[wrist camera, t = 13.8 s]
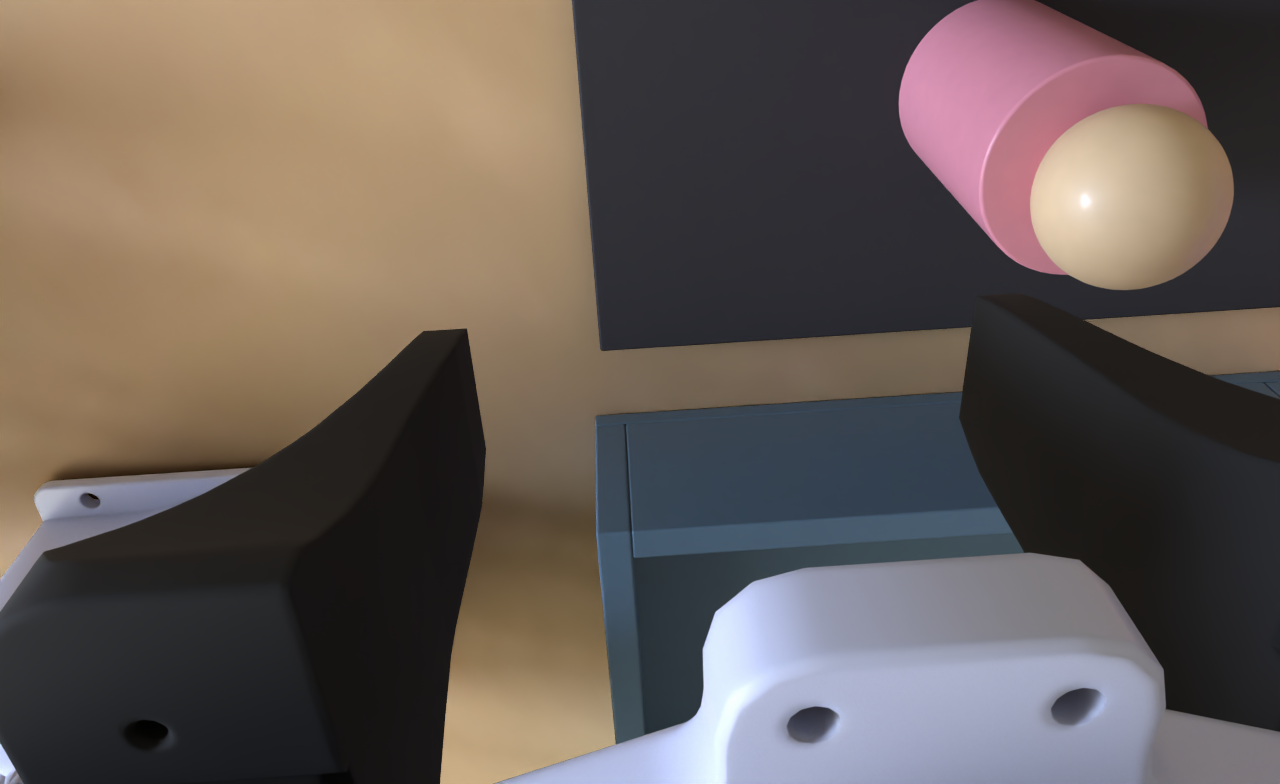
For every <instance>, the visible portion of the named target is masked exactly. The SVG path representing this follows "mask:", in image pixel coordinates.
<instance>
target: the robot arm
mask: <svg viewBox="0 0 1280 784" xmlns="http://www.w3.org/2000/svg"><path fill="white" fill-rule="evenodd" d="M959 419H960V422H961V425H962V428H963V431H964V434H965V436H966V439H967V442H968V445H969V448H970V450H971V453H972V456H973V458H974V461H975V463H976V466H977V468H978V471H979V473H980V475H981V477H982V479H983V481H984V482H985V484H986V486H987V488H988V490H989V492H990V493H991V495H992V497H993V499H994V500H995V502H996V504H997V506H998V508H999V509H1000V511H1001V513H1002V515H1003V516H1004V518H1005V520H1006V522H1007V523H1008V525H1009V527H1010V529H1011V530H1012V532H1013V534H1014V536H1015V537H1016V539H1017V541H1018V542H1019V544H1020V546H1021V548H1022V549H1023V551H1024V553H1019V554H1004V555H989V556H974V557H959V558H944V559H929V560H914V561H899V562H884V563H870V564H855V565H840V566H825V567H810V568H802V569H798V570H795V571H791V572H787V573H784V574H780V575H776V576H772V577H769V578H765V579H761V580H757V581H754V582H752V583H751V584H749V585H748V586H747V587H746V588H744V589H743V590H742V591H741V592H739V593H738V594H737V595H736V596H735V597H733V598H732V599H731V600H730V601H728V602H727V603H726V604H725V605H724V606H722V607H721V608H720V609H719V610H717V611H716V612H715V615H714V618H713V621H712V624H711V626H710V629H709V632H708V635H707V638H706V641H705V644H704V647H703V681H704V690H703V696H702V702H701V707H700V708H699V710H698V712H697V714H696V715H695V716H694V717H693V718H691V719H690V720H689V721H687V722H684V723H681V724H678V725H675V726H672V727H669V728H666V729H663V730H659V731H656V732H653V733H650V734H647V735H644V736H641V737H638V738H635V739H631V740H628V741H625V742H622V743H619V744H616V745H613V746H610V747H606V748H603V749H600V750H597V751H594V752H591V753H588V754H585V755H581V756H578V757H575V758H572V759H569V760H566V761H563V762H560V763H556V764H553V765H550V766H547V767H544V768H541V769H538V770H535V771H532V772H528V773H525V774H522V775H519V776H516V777H513V778H510V779H507V780H503V781H500V782H497V783H494V784H1280V399H1278V398H1275V397H1271V396H1268V395H1265V394H1262V393H1259V392H1256V391H1253V390H1250V389H1247V388H1244V387H1241V386H1237V385H1234V384H1231V383H1228V382H1225V381H1222V380H1220V379H1217V378H1214V377H1212V376H1209V375H1206V374H1203V373H1201V372H1198V371H1196V370H1193V369H1191V368H1189V367H1186V366H1184V365H1181V364H1179V363H1176V362H1174V361H1171V360H1169V359H1167V358H1164V357H1162V356H1159V355H1157V354H1155V353H1153V352H1150V351H1148V350H1146V349H1144V348H1141V347H1139V346H1137V345H1135V344H1133V343H1130V342H1128V341H1126V340H1124V339H1122V338H1120V337H1118V336H1115V335H1113V334H1111V333H1109V332H1107V331H1105V330H1103V329H1101V328H1099V327H1096V326H1094V325H1092V324H1090V323H1088V322H1086V321H1084V320H1082V319H1080V318H1078V317H1076V316H1074V315H1071V314H1069V313H1067V312H1065V311H1063V310H1061V309H1059V308H1056V307H1054V306H1052V305H1050V304H1048V303H1045V302H1043V301H1040V300H1038V299H1036V298H1033V297H1030V296H1027V295H1024V294H1021V293H1010V294H995V295H979V296H976V298H975V305H974V313H973V320H972V327H971V334H970V342H969V349H968V356H967V363H966V370H965V378H964V385H963V392H962V399H961V406H960V414H959ZM485 455H486V446H485V440H484V434H483V428H482V421H481V415H480V409H479V402H478V396H477V390H476V384H475V377H474V371H473V365H472V358H471V352H470V346H469V340H468V333H467V329H452V330H436V331H423V332H422V333H421V334H420V335H418V336H417V337H416V338H415V339H414V340H413V341H412V342H411V343H410V344H409V345H408V346H406V347H405V348H404V349H403V350H402V351H401V352H400V353H399V354H398V355H397V356H396V357H395V358H394V359H393V360H392V361H391V362H390V363H389V364H388V365H387V366H386V367H385V368H383V369H382V370H381V371H380V372H379V373H378V374H377V375H376V376H375V377H374V378H373V379H372V380H370V381H369V382H368V383H367V384H366V385H365V386H364V387H363V388H362V389H361V390H360V391H358V392H357V393H356V394H355V395H354V396H353V397H351V398H350V399H349V400H348V401H346V402H345V403H344V404H343V405H342V406H340V407H339V408H338V409H337V410H335V411H334V412H333V413H332V414H330V415H329V416H328V417H327V418H326V419H324V420H323V421H322V422H321V423H319V424H318V425H317V426H316V427H314V428H313V429H312V430H310V431H309V432H308V433H306V434H305V435H303V436H302V437H300V438H299V439H298V440H296V441H295V442H293V443H292V444H290V445H289V446H287V447H286V448H284V449H282V450H281V451H279V452H278V453H276V454H275V455H273V456H272V457H270V458H268V459H267V460H265V461H263V462H262V463H260V464H258V465H257V466H255V467H253V468H238V469H223V470H208V471H192V472H177V473H162V474H147V475H132V476H116V477H101V478H86V479H71V480H56V481H49V482H45V483H44V484H43V485H41V486H40V488H39V489H38V490H37V492H36V493H35V496H34V501H35V505H36V507H37V509H38V511H39V513H40V516H41V518H42V520H43V523H42V524H41V525H40V527H39V528H38V529H37V531H36V532H35V533H34V535H33V536H32V538H31V539H30V540H29V542H28V543H27V544H26V546H25V547H24V548H23V550H22V551H21V552H20V554H19V555H18V556H17V558H16V559H15V560H14V562H13V563H12V565H11V566H10V567H9V569H8V570H7V571H6V573H5V574H4V575H3V577H2V578H1V579H0V784H440V774H441V762H442V749H443V737H444V725H445V713H446V703H447V692H448V682H449V672H450V661H451V653H452V647H453V641H454V635H455V629H456V624H457V619H458V615H459V610H460V605H461V601H462V596H463V592H464V587H465V583H466V578H467V574H468V569H469V565H470V560H471V555H472V551H473V546H474V542H475V537H476V532H477V527H478V523H479V518H480V513H481V508H482V500H483V487H484V472H485ZM87 493H91V494H94V495H95V496H97V497H98V498H99V499H100V500H97V499H93V498H91V497H89V495H88V494H87Z"/></svg>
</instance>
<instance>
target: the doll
mask: <svg viewBox="0 0 1280 784" xmlns="http://www.w3.org/2000/svg"><path fill="white" fill-rule="evenodd" d="M899 116H900V121H901V126H902V129H903V132H904V135H905V137H906V139H907V141H908V143H909V145H910V146H911V147H912V149H913V150H914V152H915V153H916V154H917V155H918V156H919V158H920V159H921V160H922V161H923V162H924V163H925V164H926V166H927V167H928V168H929V169H930V170H931V171H932V172H933V174H934V175H935V176H936V177H937V178H938V179H939V180H940V182H941V183H942V184H943V185H944V186H945V187H946V188H947V189H948V191H949V192H950V193H951V194H952V195H953V196H954V197H955V199H956V200H957V201H958V202H959V203H960V204H961V205H962V207H963V208H964V209H965V210H966V211H967V212H968V213H969V215H970V216H971V217H972V218H973V219H974V220H975V221H976V222H977V224H978V225H979V226H980V227H981V228H982V229H983V230H984V232H985V233H986V234H987V235H988V236H989V237H990V238H991V240H992V241H993V242H994V243H995V244H996V245H997V246H998V247H999V248H1000V249H1001V250H1002V251H1003V252H1004V253H1005V254H1006V255H1007V256H1008V257H1010V258H1011V259H1013V260H1014V261H1015V262H1017V263H1019V264H1021V265H1023V266H1025V267H1027V268H1030V269H1033V270H1036V271H1039V272H1044V273H1049V274H1060V275H1070V276H1072V277H1074V278H1076V279H1078V280H1080V281H1082V282H1084V283H1086V284H1089V285H1092V286H1096V287H1100V288H1105V289H1111V290H1135V289H1142V288H1148V287H1151V286H1155V285H1158V284H1161V283H1164V282H1167V281H1169V280H1171V279H1174V278H1176V277H1177V276H1179V275H1181V274H1183V273H1184V272H1186V271H1187V270H1189V269H1190V268H1192V267H1193V266H1194V265H1196V264H1197V263H1198V262H1199V261H1200V260H1201V259H1202V258H1203V257H1205V256H1206V255H1207V254H1208V252H1209V251H1210V250H1211V249H1212V248H1213V246H1214V245H1215V244H1216V242H1217V241H1218V239H1219V238H1220V236H1221V234H1222V233H1223V231H1224V229H1225V227H1226V224H1227V222H1228V219H1229V216H1230V212H1231V208H1232V204H1233V197H1234V183H1233V175H1232V169H1231V166H1230V163H1229V160H1228V158H1227V155H1226V153H1225V151H1224V149H1223V148H1222V146H1221V144H1220V143H1219V141H1218V140H1217V139H1216V138H1215V137H1214V135H1213V134H1212V133H1211V132H1210V131H1209V130H1208V126H1207V121H1206V115H1205V112H1204V109H1203V106H1202V103H1201V101H1200V99H1199V97H1198V95H1197V93H1196V92H1195V90H1194V88H1193V87H1192V86H1191V85H1190V84H1189V82H1188V81H1187V80H1186V79H1185V78H1184V77H1183V76H1182V75H1181V74H1179V73H1178V72H1177V71H1176V70H1175V69H1173V68H1171V67H1169V66H1168V65H1166V64H1164V63H1163V62H1160V61H1158V60H1156V59H1154V58H1152V57H1150V56H1148V55H1146V54H1144V53H1142V52H1140V51H1138V50H1136V49H1134V48H1132V47H1130V46H1128V45H1126V44H1124V43H1122V42H1120V41H1117V40H1115V39H1113V38H1111V37H1109V36H1107V35H1105V34H1103V33H1101V32H1099V31H1097V30H1095V29H1093V28H1091V27H1089V26H1087V25H1085V24H1083V23H1081V22H1079V21H1077V20H1075V19H1072V18H1070V17H1068V16H1066V15H1064V14H1062V13H1060V12H1058V11H1056V10H1054V9H1052V8H1050V7H1048V6H1046V5H1044V4H1042V3H1040V2H1037V1H1034V0H977V1H974V2H971V3H968V4H966V5H964V6H962V7H960V8H958V9H956V10H955V11H953V12H952V13H950V14H949V15H947V16H946V17H944V18H943V19H942V20H941V21H940V22H938V23H937V24H936V25H935V26H934V27H933V28H932V29H931V30H930V31H929V32H928V33H927V34H926V35H925V37H924V38H923V39H922V40H921V42H920V43H919V44H918V46H917V48H916V49H915V51H914V52H913V54H912V56H911V58H910V60H909V62H908V64H907V66H906V69H905V72H904V75H903V78H902V82H901V87H900V92H899Z"/></svg>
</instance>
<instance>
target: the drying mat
mask: <svg viewBox="0 0 1280 784" xmlns="http://www.w3.org/2000/svg"><path fill="white" fill-rule="evenodd" d="M974 1H977V0H572V5H573V18H574V30H575V42H576V55H577V67H578V79H579V92H580V104H581V116H582V129H583V141H584V153H585V166H586V178H587V190H588V203H589V215H590V227H591V239H592V252H593V264H594V276H595V289H596V301H597V313H598V326H599V338H600V349H601V350H602V351H608V350H623V349H638V348H654V347H669V346H685V345H700V344H716V343H731V342H746V341H762V340H777V339H793V338H808V337H824V336H839V335H855V334H870V333H885V332H901V331H916V330H932V329H947V328H963V327H972V320H973V313H974V305H975V298H976V296H979V295H995V294H1010V293H1021V294H1024V295H1027V296H1030V297H1033V298H1036V299H1038V300H1040V301H1043V302H1045V303H1048V304H1050V305H1052V306H1054V307H1056V308H1059V309H1061V310H1063V311H1065V312H1067V313H1069V314H1071V315H1074V316H1076V317H1078V318H1080V319H1082V320H1086V319H1101V318H1117V317H1132V316H1148V315H1163V314H1179V313H1194V312H1210V311H1225V310H1240V309H1256V308H1271V307H1280V0H1034V1H1037V2H1040V3H1042V4H1044V5H1046V6H1048V7H1050V8H1052V9H1054V10H1056V11H1058V12H1060V13H1062V14H1064V15H1066V16H1068V17H1070V18H1072V19H1075V20H1077V21H1079V22H1081V23H1083V24H1085V25H1087V26H1089V27H1091V28H1093V29H1095V30H1097V31H1099V32H1101V33H1103V34H1105V35H1107V36H1109V37H1111V38H1113V39H1115V40H1117V41H1120V42H1122V43H1124V44H1126V45H1128V46H1130V47H1132V48H1134V49H1136V50H1138V51H1140V52H1142V53H1144V54H1146V55H1148V56H1150V57H1152V58H1154V59H1156V60H1158V61H1160V62H1163V63H1164V64H1166V65H1168V66H1169V67H1171V68H1173V69H1175V70H1176V71H1177V72H1178V73H1179V74H1181V75H1182V76H1183V77H1184V78H1185V79H1186V80H1187V81H1188V82H1189V84H1190V85H1191V86H1192V87H1193V88H1194V90H1195V92H1196V93H1197V95H1198V97H1199V99H1200V101H1201V103H1202V106H1203V109H1204V112H1205V115H1206V121H1207V126H1208V130H1209V131H1210V132H1211V133H1212V134H1213V135H1214V137H1215V138H1216V139H1217V140H1218V141H1219V143H1220V144H1221V146H1222V148H1223V149H1224V151H1225V153H1226V155H1227V158H1228V160H1229V163H1230V166H1231V169H1232V175H1233V183H1234V197H1233V204H1232V208H1231V212H1230V216H1229V219H1228V222H1227V224H1226V227H1225V229H1224V231H1223V233H1222V234H1221V236H1220V238H1219V239H1218V241H1217V242H1216V244H1215V245H1214V246H1213V248H1212V249H1211V250H1210V251H1209V252H1208V254H1207V255H1206V256H1205V257H1203V258H1202V259H1201V260H1200V261H1199V262H1198V263H1197V264H1196V265H1194V266H1193V267H1192V268H1190V269H1189V270H1187V271H1186V272H1184V273H1183V274H1181V275H1179V276H1177V277H1176V278H1174V279H1171V280H1169V281H1167V282H1164V283H1161V284H1158V285H1155V286H1151V287H1148V288H1142V289H1135V290H1111V289H1105V288H1100V287H1096V286H1092V285H1089V284H1086V283H1084V282H1082V281H1080V280H1078V279H1076V278H1074V277H1072V276H1070V275H1060V274H1049V273H1044V272H1039V271H1036V270H1033V269H1030V268H1027V267H1025V266H1023V265H1021V264H1019V263H1017V262H1015V261H1014V260H1013V259H1011V258H1010V257H1008V256H1007V255H1006V254H1005V253H1004V252H1003V251H1002V250H1001V249H1000V248H999V247H998V246H997V245H996V244H995V243H994V242H993V241H992V240H991V238H990V237H989V236H988V235H987V234H986V233H985V232H984V230H983V229H982V228H981V227H980V226H979V225H978V224H977V222H976V221H975V220H974V219H973V218H972V217H971V216H970V215H969V213H968V212H967V211H966V210H965V209H964V208H963V207H962V205H961V204H960V203H959V202H958V201H957V200H956V199H955V197H954V196H953V195H952V194H951V193H950V192H949V191H948V189H947V188H946V187H945V186H944V185H943V184H942V183H941V182H940V180H939V179H938V178H937V177H936V176H935V175H934V174H933V172H932V171H931V170H930V169H929V168H928V167H927V166H926V164H925V163H924V162H923V161H922V160H921V159H920V158H919V156H918V155H917V154H916V153H915V152H914V150H913V149H912V147H911V146H910V145H909V143H908V141H907V139H906V137H905V135H904V132H903V129H902V126H901V121H900V116H899V92H900V87H901V82H902V78H903V75H904V72H905V69H906V66H907V64H908V62H909V60H910V58H911V56H912V54H913V52H914V51H915V49H916V48H917V46H918V44H919V43H920V42H921V40H922V39H923V38H924V37H925V35H926V34H927V33H928V32H929V31H930V30H931V29H932V28H933V27H934V26H935V25H936V24H937V23H938V22H940V21H941V20H942V19H943V18H944V17H946V16H947V15H949V14H950V13H952V12H953V11H955V10H956V9H958V8H960V7H962V6H964V5H966V4H968V3H971V2H974Z"/></svg>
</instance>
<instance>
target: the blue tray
mask: <svg viewBox="0 0 1280 784" xmlns="http://www.w3.org/2000/svg"><path fill="white" fill-rule="evenodd" d="M1212 377H1214V378H1217V379H1220V380H1222V381H1225V382H1228V383H1231V384H1234V385H1237V386H1241V387H1244V388H1247V389H1250V390H1253V391H1256V392H1259V393H1262V394H1265V395H1268V396H1271V397H1275V398H1278V399H1280V371H1274V372H1259V373H1244V374H1228V375H1213V376H1212ZM961 399H962V392H953V393H938V394H923V395H907V396H892V397H877V398H861V399H846V400H831V401H816V402H800V403H785V404H770V405H754V406H739V407H724V408H709V409H693V410H678V411H663V412H648V413H632V414H617V415H602V416H596V417H595V428H596V429H595V449H596V538H597V549H598V560H599V570H600V581H601V591H602V602H603V613H604V623H605V634H606V645H607V655H608V666H609V676H610V687H611V698H612V708H613V719H614V729H615V740H616V744H619V743H622V742H625V741H628V740H631V739H635V738H638V737H641V736H644V735H647V734H650V733H653V732H656V731H659V730H663V729H666V728H669V727H672V726H675V725H678V724H681V723H684V722H687V721H689V720H690V719H691V718H693V717H694V716H695V715H696V714H697V712H698V710H699V708H700V707H701V702H702V696H703V690H704V681H703V647H704V644H705V641H706V638H707V635H708V632H709V629H710V626H711V624H712V621H713V618H714V615H715V612H716V611H717V610H719V609H720V608H721V607H722V606H724V605H725V604H726V603H727V602H728V601H730V600H731V599H732V598H733V597H735V596H736V595H737V594H738V593H739V592H741V591H742V590H743V589H744V588H746V587H747V586H748V585H749V584H751V583H752V582H754V581H757V580H761V579H765V578H769V577H772V576H776V575H780V574H784V573H787V572H791V571H795V570H798V569H802V568H810V567H825V566H840V565H855V564H870V563H884V562H899V561H914V560H929V559H944V558H959V557H974V556H989V555H1004V554H1019V553H1024V551H1023V549H1022V548H1021V546H1020V544H1019V542H1018V541H1017V539H1016V537H1015V536H1014V534H1013V532H1012V530H1011V529H1010V527H1009V525H1008V523H1007V522H1006V520H1005V518H1004V516H1003V515H1002V513H1001V511H1000V509H999V508H998V506H997V504H996V502H995V500H994V499H993V497H992V495H991V493H990V492H989V490H988V488H987V486H986V484H985V482H984V481H983V479H982V477H981V475H980V473H979V471H978V468H977V466H976V463H975V461H974V458H973V456H972V453H971V450H970V448H969V445H968V442H967V439H966V436H965V434H964V431H963V428H962V425H961V422H960V419H959V414H960V406H961Z"/></svg>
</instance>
